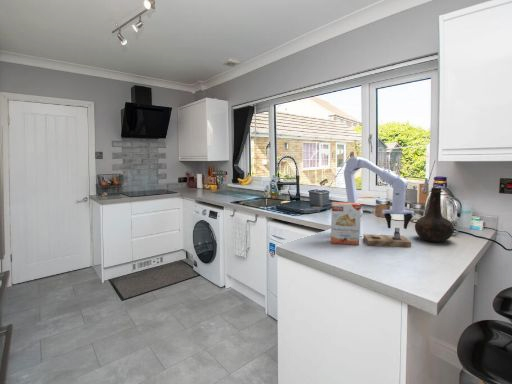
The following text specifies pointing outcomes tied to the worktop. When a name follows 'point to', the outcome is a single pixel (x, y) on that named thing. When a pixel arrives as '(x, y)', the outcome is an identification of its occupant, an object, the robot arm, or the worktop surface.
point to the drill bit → (397, 234)
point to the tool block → (386, 240)
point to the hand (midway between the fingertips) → (397, 228)
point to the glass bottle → (434, 221)
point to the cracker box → (345, 223)
